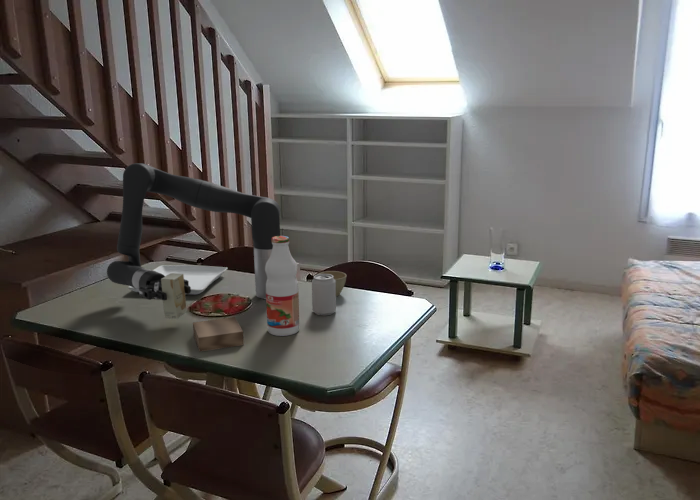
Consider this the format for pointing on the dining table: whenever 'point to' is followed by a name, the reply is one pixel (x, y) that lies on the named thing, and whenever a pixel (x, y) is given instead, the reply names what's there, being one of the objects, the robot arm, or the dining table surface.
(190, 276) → the square plate
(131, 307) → the dining table surface
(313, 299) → the can
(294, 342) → the dining table surface
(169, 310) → the skincare box
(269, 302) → the fruit juice
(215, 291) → the dining table surface
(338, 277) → the beige bowl
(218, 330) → the walnut stand
